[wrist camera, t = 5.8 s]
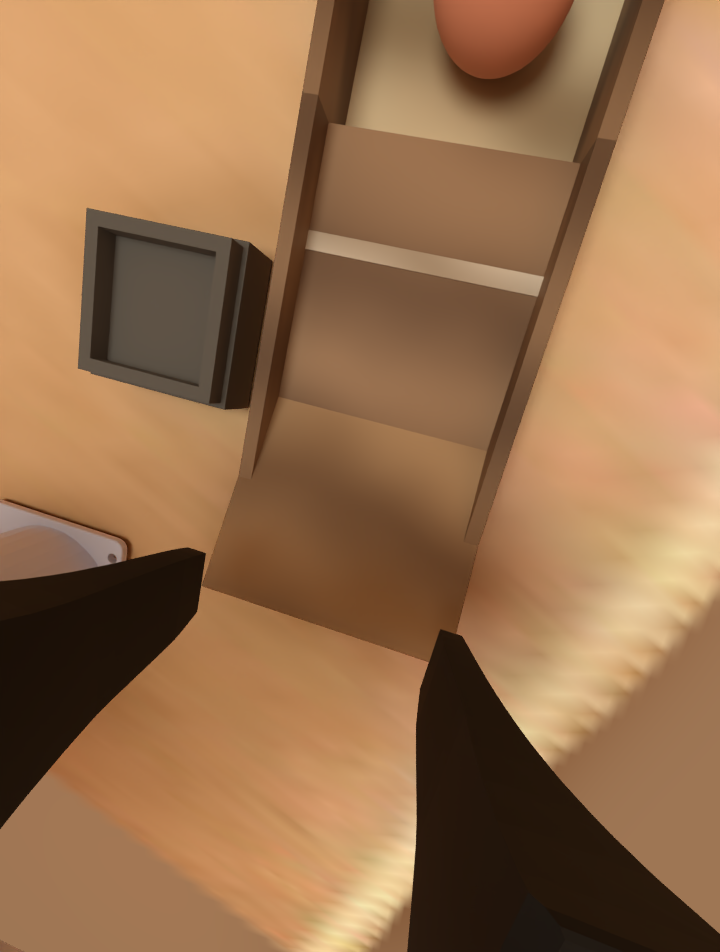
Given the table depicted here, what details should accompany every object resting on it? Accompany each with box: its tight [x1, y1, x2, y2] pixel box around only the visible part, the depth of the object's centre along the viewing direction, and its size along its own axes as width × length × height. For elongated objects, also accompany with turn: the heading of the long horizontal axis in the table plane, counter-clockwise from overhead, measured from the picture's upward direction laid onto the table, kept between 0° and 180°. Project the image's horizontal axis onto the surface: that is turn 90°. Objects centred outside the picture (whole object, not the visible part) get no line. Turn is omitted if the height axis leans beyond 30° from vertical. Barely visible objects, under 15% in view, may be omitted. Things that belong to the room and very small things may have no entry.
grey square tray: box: [78, 208, 272, 410], centre depth 15 cm, size 6×6×3 cm
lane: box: [202, 0, 664, 662], centre depth 13 cm, size 23×9×4 cm, turn 166°
